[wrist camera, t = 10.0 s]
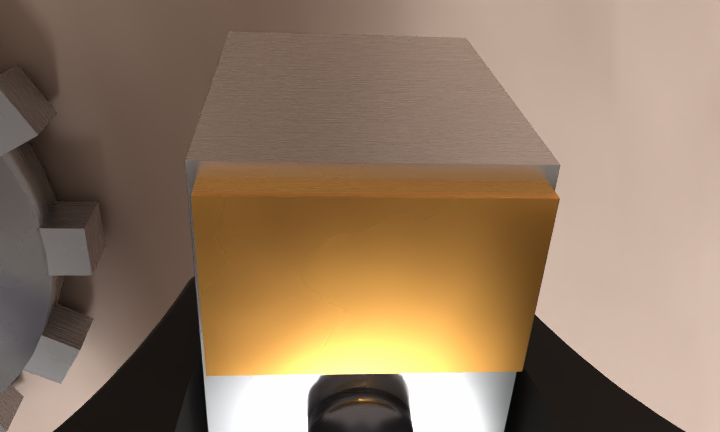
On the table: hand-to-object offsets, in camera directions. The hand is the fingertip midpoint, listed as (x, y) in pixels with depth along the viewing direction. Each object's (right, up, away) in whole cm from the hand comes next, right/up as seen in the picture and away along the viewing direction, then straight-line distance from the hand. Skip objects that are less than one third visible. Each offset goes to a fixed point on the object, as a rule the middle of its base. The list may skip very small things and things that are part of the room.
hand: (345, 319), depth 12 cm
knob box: (0, +1, +2) cm, 2 cm away
